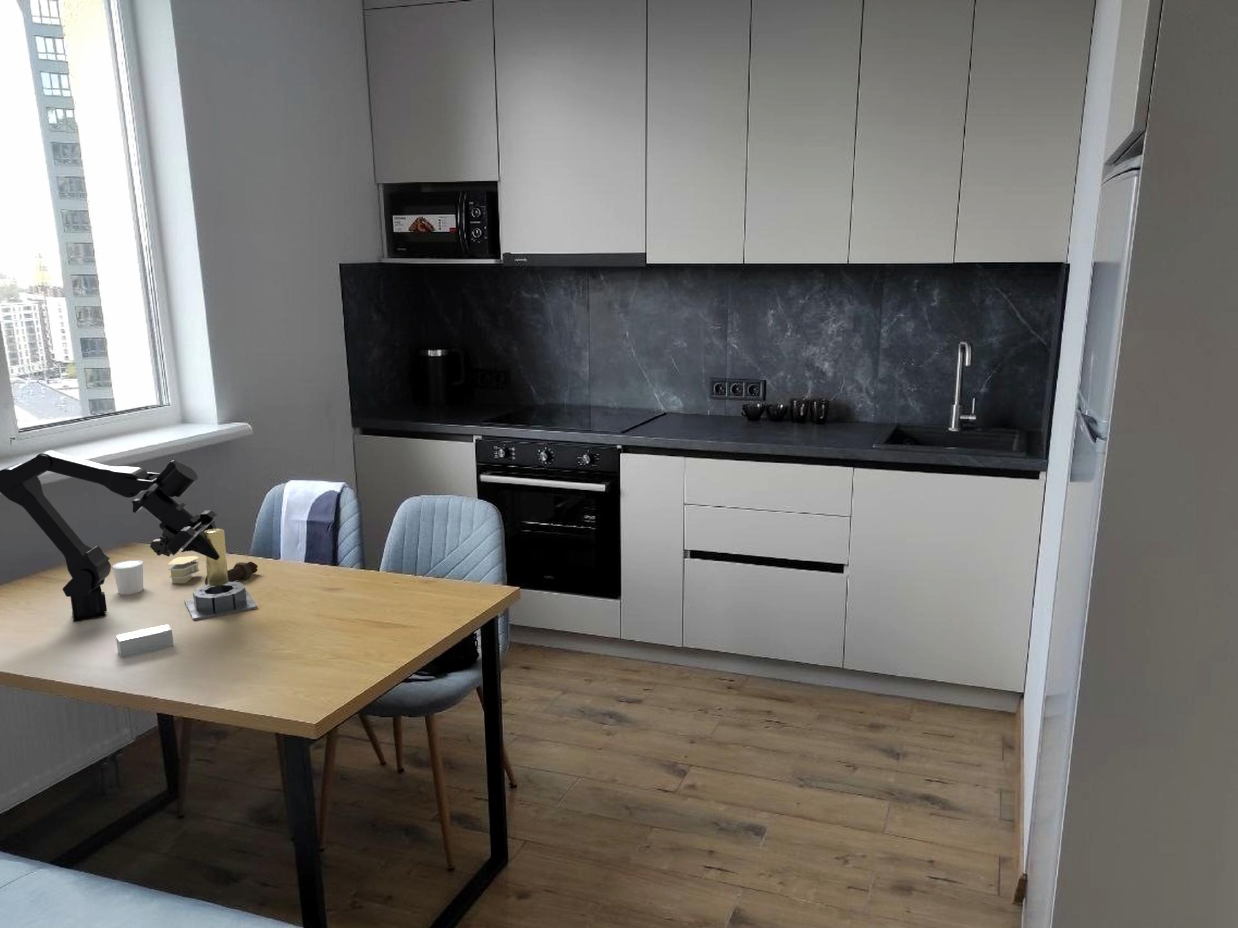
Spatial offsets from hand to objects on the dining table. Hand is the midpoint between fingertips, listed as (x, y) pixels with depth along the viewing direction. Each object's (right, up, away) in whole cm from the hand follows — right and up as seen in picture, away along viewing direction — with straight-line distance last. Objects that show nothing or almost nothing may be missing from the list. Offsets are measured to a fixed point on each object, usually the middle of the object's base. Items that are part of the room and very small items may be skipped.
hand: (221, 555), depth 216 cm
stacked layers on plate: (-20, -9, +25) cm, 33 cm away
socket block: (-3, -12, +6) cm, 14 cm away
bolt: (-6, -9, +22) cm, 24 cm away
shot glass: (-30, -11, +17) cm, 36 cm away
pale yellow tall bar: (-1, -6, +1) cm, 7 cm away
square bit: (-8, -18, -20) cm, 28 cm away
